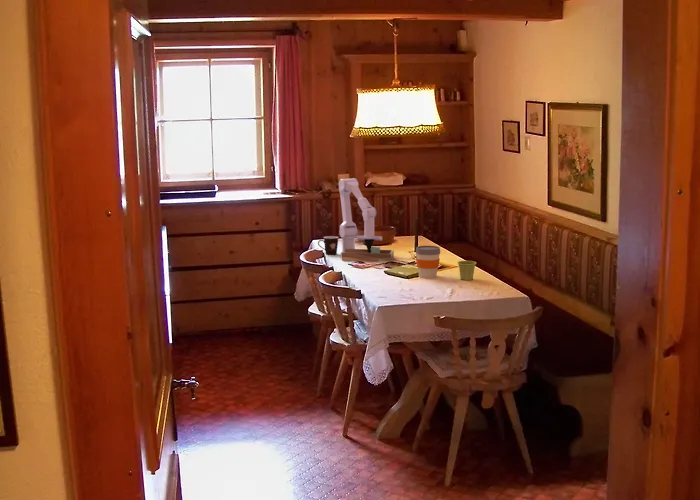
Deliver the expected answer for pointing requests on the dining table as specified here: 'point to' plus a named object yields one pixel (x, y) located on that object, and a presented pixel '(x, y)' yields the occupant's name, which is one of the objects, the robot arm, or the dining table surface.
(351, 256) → the trap tray
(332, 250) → the coffee mug
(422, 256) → the reusable coffee cup
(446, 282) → the dining table surface
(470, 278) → the plant pot
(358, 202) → the robot arm
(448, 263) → the dining table surface
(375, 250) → the teal block
